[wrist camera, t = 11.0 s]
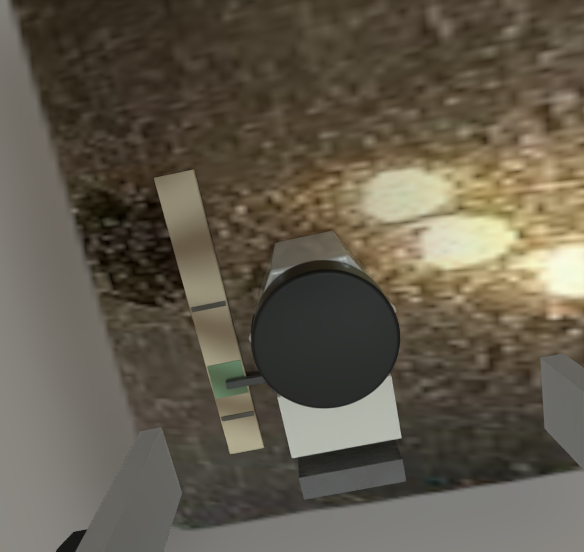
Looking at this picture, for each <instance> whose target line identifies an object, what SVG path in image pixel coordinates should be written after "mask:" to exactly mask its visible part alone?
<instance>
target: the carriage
mask: <svg viewBox="0 0 584 552" xmlns="http://www.w3.org/2000/svg"><path fill="white" fill-rule="evenodd" d="M265 382H266V381H265V380H264V379H263V377H262V376H261V374H257V375H252V376H246V377H241V378H236V379H231V380H226V383H225V384H226V388H227V390H229V389H234V388H239V387H245V386H250V385H255V384H260V383H265ZM272 391H273V393H274V392H275V391H274V390H273V389H272ZM277 398H278V402H279V406H280V410H281V414H282V419H283V423H284V427H285V431H286V435H287V440H288V444H289V448H290V452H291V457H292V458H296V457H302V456H307V455H312V454H318V453H323V452H329V451H334V450H340V449H345V448H350V447H356V446H361V445H367V444H372V443H378V442H383V441H388V440H394V439H399V438H401V432H400V426H399V420H398V414H397V408H396V402H395V396H394V390H393V384H392V377H391V374H390V373H389V375H388V377H387V378H386V379H385V380H384V382H383V383H382V384H381V385H380V386H379V387H378V388H377V389H376V390H375V391H373V392H372V393H371V394H369V395H368V396H366V397H365V398H363V399H361V400H359V401H357V402H355V403H352V404H349V405H346V406H342V407H337V408H328V409H320V408H311V407H306V406H302V405H299V404H296V403H294V402H291V401H289V400H287V399H286V398H284V397H282V396H281V395H279V394H278V396H277Z"/></svg>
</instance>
